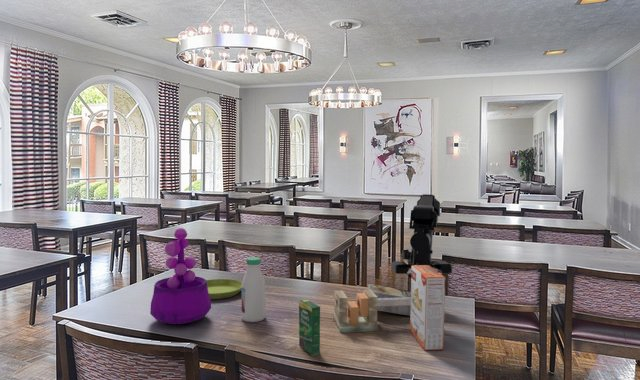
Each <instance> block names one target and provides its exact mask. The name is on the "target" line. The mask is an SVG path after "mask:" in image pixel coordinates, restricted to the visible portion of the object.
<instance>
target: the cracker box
mask: <svg viewBox="0 0 640 380" xmlns="http://www.w3.org/2000/svg"><path fill="white" fill-rule="evenodd" d="M410 283H411V284H410V291H411V315H410V316H409V317H410V320H409V321H410V323H409V325H410V326H409V327H410V328H409V330H410V332H411V334H412V336H413V337H414V338H415V340H416V341H417V342H418V344H419V345H420V347H421V348H422V349H423V351H442V350H444V345H445V343H444V340H445V339H444V337H445V304H446V303H445V302H446V277H445V276H444V275H442V274H441V273H440V272H439V271H438V272H437V271H436V270H434V269H433V268H432V267H430V266H429V265H413V266H411V280H410Z"/></svg>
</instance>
